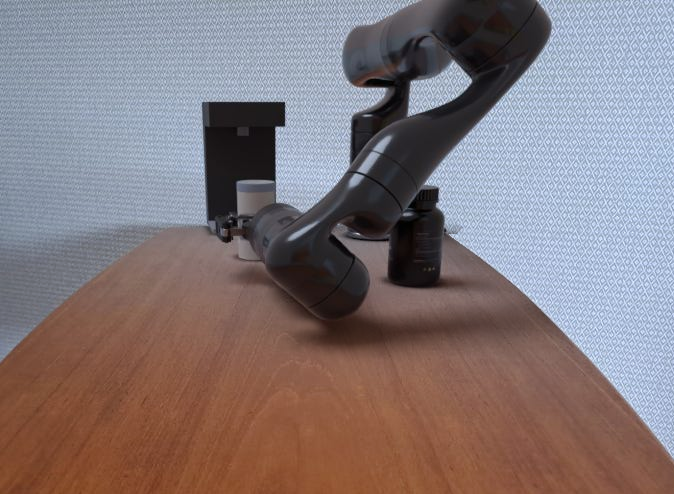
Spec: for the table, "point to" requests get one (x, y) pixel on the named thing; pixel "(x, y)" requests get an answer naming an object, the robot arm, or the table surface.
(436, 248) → the supplement bottle
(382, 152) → the robot arm
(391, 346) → the table surface
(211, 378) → the table surface
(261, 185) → the container
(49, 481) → the table surface
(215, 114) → the coffee maker
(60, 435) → the table surface
